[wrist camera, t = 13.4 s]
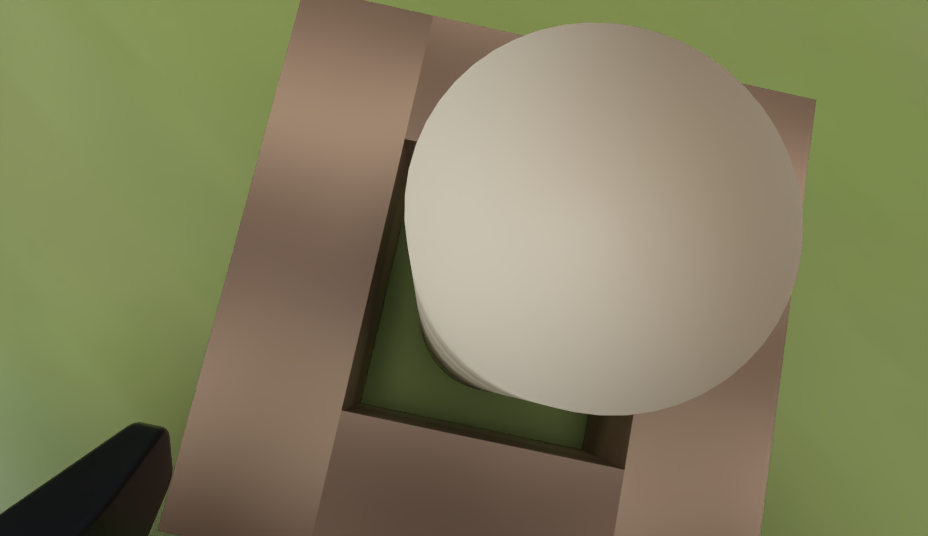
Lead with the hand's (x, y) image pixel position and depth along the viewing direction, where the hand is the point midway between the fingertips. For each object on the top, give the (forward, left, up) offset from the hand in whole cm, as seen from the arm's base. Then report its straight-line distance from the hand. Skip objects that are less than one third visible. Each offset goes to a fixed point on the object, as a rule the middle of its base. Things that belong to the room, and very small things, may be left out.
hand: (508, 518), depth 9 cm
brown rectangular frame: (+3, +2, -9) cm, 10 cm away
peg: (+3, +2, -9) cm, 10 cm away
